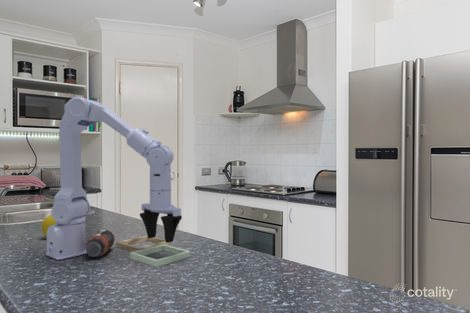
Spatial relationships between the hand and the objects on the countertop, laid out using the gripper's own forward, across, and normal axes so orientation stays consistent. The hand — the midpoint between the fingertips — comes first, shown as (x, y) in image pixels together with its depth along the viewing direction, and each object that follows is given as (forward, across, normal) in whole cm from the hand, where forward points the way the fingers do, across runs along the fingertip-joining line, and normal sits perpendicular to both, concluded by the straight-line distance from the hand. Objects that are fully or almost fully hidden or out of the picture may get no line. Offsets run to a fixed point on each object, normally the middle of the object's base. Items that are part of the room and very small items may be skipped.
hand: (160, 239), depth 95 cm
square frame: (+5, 0, 0) cm, 5 cm away
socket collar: (+5, +13, -4) cm, 14 cm away
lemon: (+5, +45, +10) cm, 46 cm away
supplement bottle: (+2, +20, +5) cm, 21 cm away
